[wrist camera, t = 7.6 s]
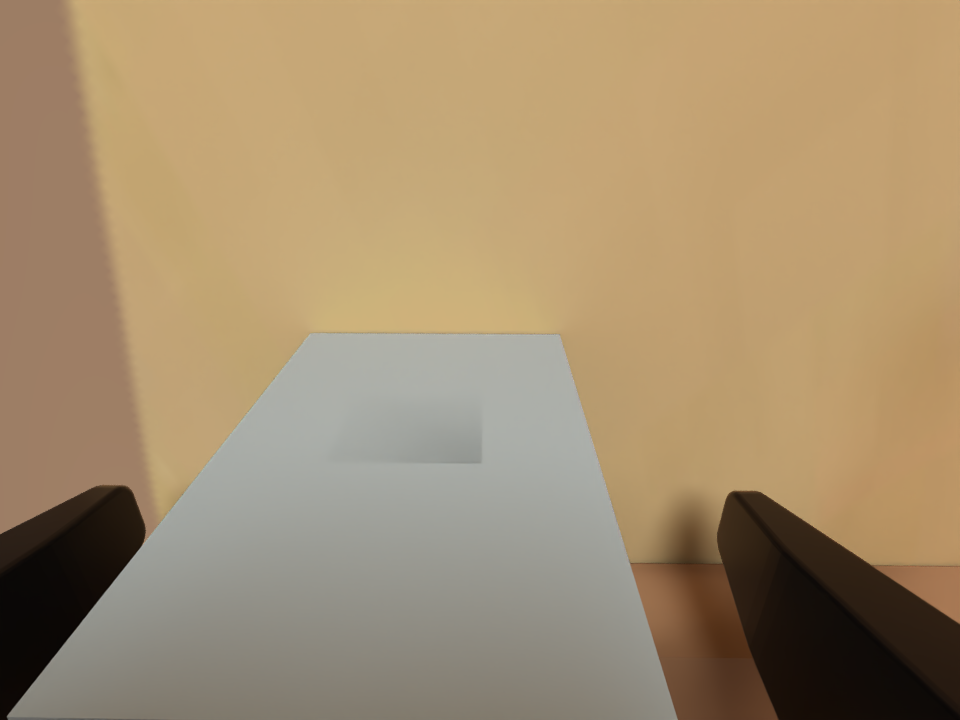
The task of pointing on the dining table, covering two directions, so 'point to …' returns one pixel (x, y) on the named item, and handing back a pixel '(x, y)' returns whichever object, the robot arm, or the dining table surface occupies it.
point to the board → (734, 634)
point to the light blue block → (380, 556)
